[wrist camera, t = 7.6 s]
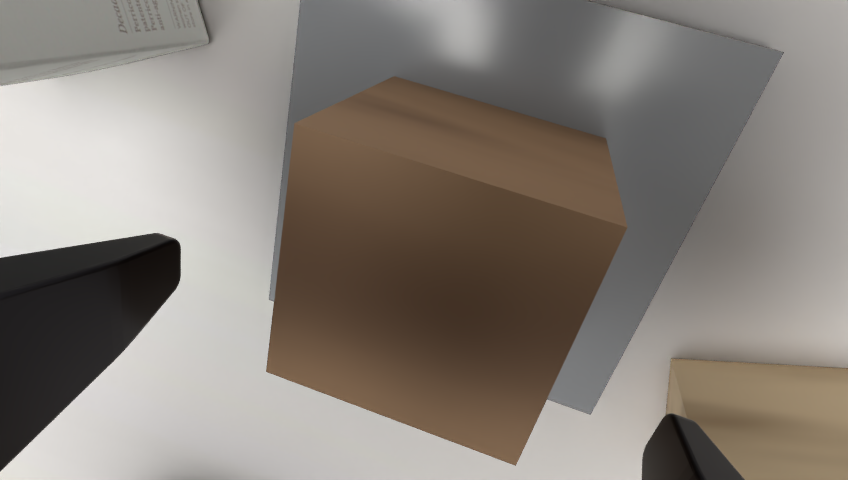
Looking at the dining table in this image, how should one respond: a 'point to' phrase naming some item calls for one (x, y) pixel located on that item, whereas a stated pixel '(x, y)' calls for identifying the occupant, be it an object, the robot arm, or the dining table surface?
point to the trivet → (559, 116)
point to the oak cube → (767, 415)
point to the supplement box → (91, 35)
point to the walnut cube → (440, 259)
